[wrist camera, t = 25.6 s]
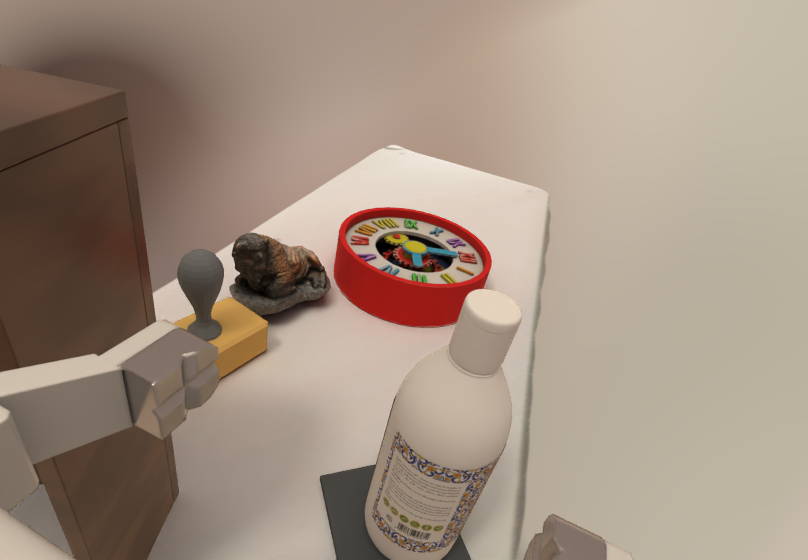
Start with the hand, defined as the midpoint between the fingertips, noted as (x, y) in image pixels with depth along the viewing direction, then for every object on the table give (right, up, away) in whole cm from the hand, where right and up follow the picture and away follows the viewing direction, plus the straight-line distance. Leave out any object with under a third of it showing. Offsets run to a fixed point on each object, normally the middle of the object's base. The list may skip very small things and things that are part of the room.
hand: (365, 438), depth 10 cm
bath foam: (+1, -14, +23) cm, 27 cm away
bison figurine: (-13, +1, +41) cm, 43 cm away
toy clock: (+1, +3, +50) cm, 51 cm away
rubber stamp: (-18, -4, +32) cm, 37 cm away
